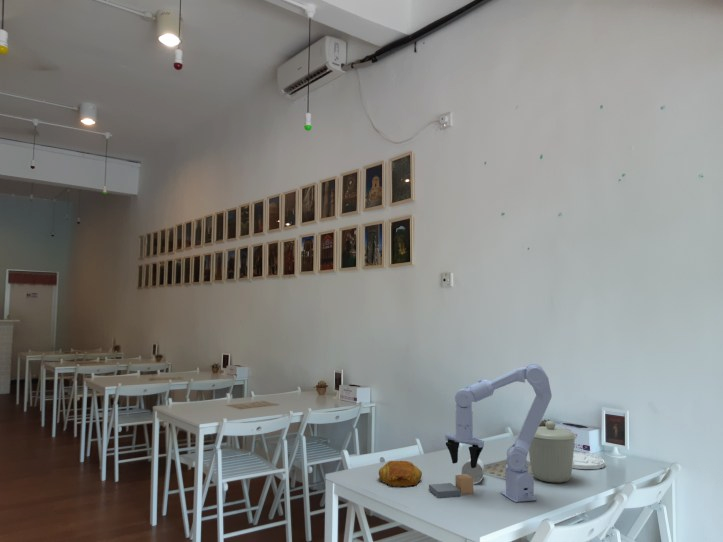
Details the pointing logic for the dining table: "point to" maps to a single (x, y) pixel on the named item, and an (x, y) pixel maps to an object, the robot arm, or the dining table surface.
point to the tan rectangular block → (464, 483)
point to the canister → (552, 453)
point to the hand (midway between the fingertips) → (464, 465)
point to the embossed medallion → (587, 461)
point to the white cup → (473, 470)
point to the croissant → (400, 473)
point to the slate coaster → (444, 490)
